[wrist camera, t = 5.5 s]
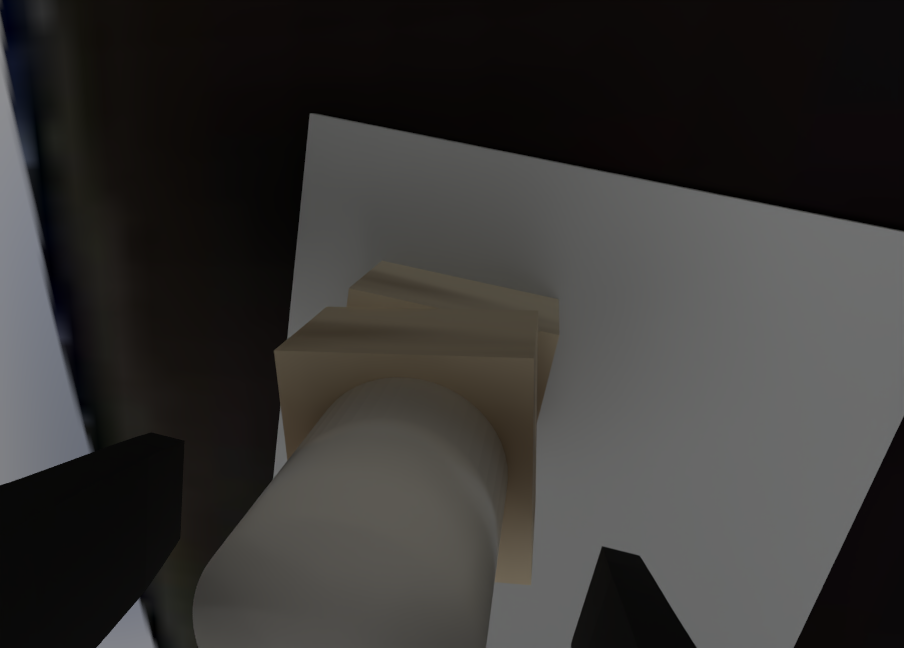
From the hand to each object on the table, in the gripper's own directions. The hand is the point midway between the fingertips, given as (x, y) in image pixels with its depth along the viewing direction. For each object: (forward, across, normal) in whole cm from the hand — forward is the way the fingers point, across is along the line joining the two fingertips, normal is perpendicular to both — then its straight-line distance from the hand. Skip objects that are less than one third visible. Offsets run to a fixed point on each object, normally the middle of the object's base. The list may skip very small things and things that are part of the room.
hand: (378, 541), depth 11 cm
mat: (+9, -4, +4) cm, 10 cm away
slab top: (+5, 0, 0) cm, 5 cm away
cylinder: (+2, 0, 0) cm, 2 cm away
